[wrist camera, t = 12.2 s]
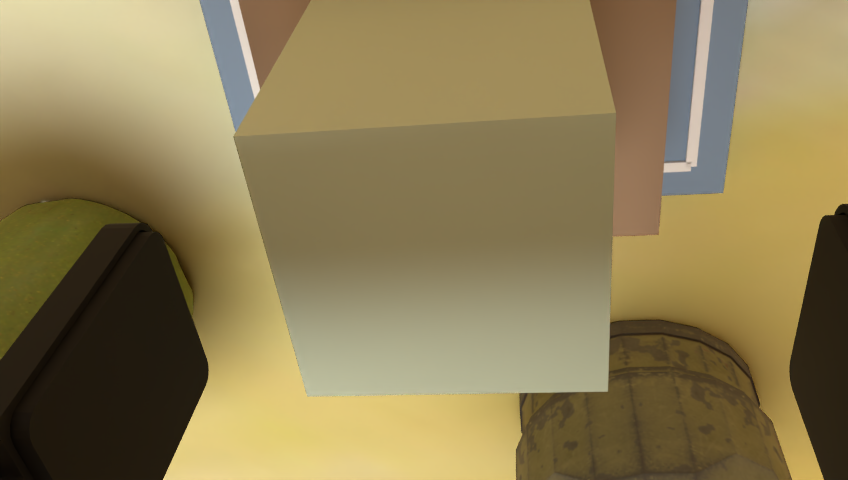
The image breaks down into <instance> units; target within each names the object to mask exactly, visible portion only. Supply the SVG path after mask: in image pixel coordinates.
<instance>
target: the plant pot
mask: <svg viewBox="0 0 848 480" xmlns="http://www.w3.org/2000/svg"><path fill="white" fill-rule="evenodd" d="M114 223H140V222H139V221H137V220H136V219H134V218H132V217H131V216H129V215H127V214H125V213H123V212H121V211H119V210H116V209H113V208H111V207H108V206H106V205H103V204H99V203H96V202H92V201H87V200H81V199H63V200H57V201H50V202H42V203H36V204H29V205H25V206H23V207H21V208H19V209H18V210H16V211H15V212H13V213H12V214H10V215H9V216H7V217H6V218H4V219H3V220H1V221H0V360H1V359H2V357H3V356H4V355H5V353H6V352H7V351H8V349H9V348H10V347H11V345H12V344H13V343H14V342H15V340H16V339H17V338H18V336H19V335H20V334H21V332H22V331H23V330H24V329H25V327H26V326H27V325H28V323H29V322H30V321H31V319H32V318H33V317H34V315H35V314H36V313H37V312H38V310H39V309H40V308H41V306H42V305H43V304H44V302H45V301H46V300H47V299H48V297H49V296H50V295H51V293H52V292H53V291H54V289H55V288H56V287H57V285H58V284H59V283H60V282H61V280H62V279H63V278H64V276H65V275H66V274H67V272H68V271H69V270H70V269H71V267H72V266H73V265H74V263H75V262H76V261H77V259H78V258H79V257H80V255H81V254H82V253H83V252H84V250H85V249H86V248H87V246H88V245H89V244H90V242H91V241H92V240H93V239H94V237H95V236H96V235H97V233H98V232H99V231H100V229H101V228H102V227H103V226H105V225H106V224H114ZM165 244H166V243H165ZM166 247H167V250H168V253H169V255H170V258H171V261H172V264H173V266H174V269H175V272H176V275H177V278H178V280H179V283H180V286H181V289H182V291H183V294H184V297H185V300H186V303H187V305H188V308H189V311H190V314H191V316H192V315H193V305H194V298H193V291H192V289H191V287H190V286H189V284H188V282H187V280H186V278H185V276H184V274H183V271H182V269H181V267H180V265H179V262H178V260H177V257H176V255H175V253H174V252H173V251H172V250H171V248H170V247H169V246H168V245H167V244H166Z"/></svg>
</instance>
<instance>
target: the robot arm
mask: <svg viewBox="0 0 848 480" xmlns="http://www.w3.org/2000/svg"><path fill="white" fill-rule="evenodd" d="M208 371H209V369H208V362H207V358H206V355H205V353H204V350H203V347H202V344H201V341H200V339H199V336H198V333H197V330H196V328H195V325H194V322H193V319H192V316H191V314H190V311H189V308H188V305H187V303H186V300H185V297H184V294H183V291H182V289H181V286H180V283H179V280H178V278H177V275H176V272H175V269H174V266H173V264H172V261H171V258H170V255H169V253H168V250H167V247H166V244H165V241H164V239H163V237H162V236H161V234H160V233H158V232H153V231H152V229H151V228H150V227H149V226H148V225H147V224H145V223H114V224H106V225H105V226H103V227H102V228H101V229H100V231H99V232H98V233H97V235H96V236H95V237H94V239H93V240H92V241H91V242H90V244H89V245H88V246H87V248H86V249H85V250H84V252H83V253H82V254H81V255H80V257H79V258H78V259H77V261H76V262H75V263H74V265H73V266H72V267H71V269H70V270H69V271H68V272H67V274H66V275H65V276H64V278H63V279H62V280H61V282H60V283H59V284H58V285H57V287H56V288H55V289H54V291H53V292H52V293H51V295H50V296H49V297H48V299H47V300H46V301H45V302H44V304H43V305H42V306H41V308H40V309H39V310H38V312H37V313H36V314H35V315H34V317H33V318H32V319H31V321H30V322H29V323H28V325H27V326H26V327H25V329H24V330H23V331H22V332H21V334H20V335H19V336H18V338H17V339H16V340H15V342H14V343H13V344H12V345H11V347H10V348H9V349H8V351H7V352H6V353H5V355H4V356H3V357H2V359H1V360H0V480H163V478H164V476H165V474H166V472H167V469H168V467H169V465H170V463H171V461H172V458H173V456H174V454H175V452H176V450H177V448H178V445H179V443H180V441H181V439H182V437H183V434H184V432H185V430H186V428H187V426H188V423H189V421H190V419H191V417H192V415H193V412H194V410H195V408H196V406H197V404H198V401H199V399H200V397H201V395H202V393H203V390H204V388H205V386H206V383H207V380H208ZM790 381H791V386H792V390H793V393H794V395H795V398H796V401H797V404H798V407H799V410H800V412H801V415H802V418H803V421H804V424H805V427H806V429H807V432H808V435H809V438H810V441H811V444H812V446H813V449H814V452H815V455H816V458H817V461H818V463H819V466H820V469H821V472H822V475H823V478H824V480H848V204H842V205H840V206H839V207H838V208H837V210H836V212H835V215H825V216H824V217H823V218H822V219H821V222H820V225H819V229H818V234H817V238H816V243H815V248H814V252H813V257H812V262H811V266H810V271H809V276H808V280H807V285H806V290H805V294H804V299H803V304H802V308H801V313H800V318H799V322H798V327H797V332H796V336H795V341H794V346H793V350H792V355H791V360H790Z"/></svg>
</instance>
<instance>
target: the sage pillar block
mask: <svg viewBox="0 0 848 480" xmlns="http://www.w3.org/2000/svg"><path fill="white" fill-rule="evenodd" d="M615 134H616V110H615V106H614V102H613V98H612V93H611V89H610V85H609V81H608V76H607V72H606V68H605V64H604V60H603V55H602V51H601V47H600V43H599V38H598V34H597V30H596V26H595V22H594V17H593V13H592V9H591V5H590V0H311V1H310V3H309V5H308V6H307V8H306V10H305V12H304V13H303V15H302V17H301V19H300V21H299V22H298V24H297V26H296V28H295V29H294V31H293V33H292V35H291V36H290V38H289V40H288V42H287V43H286V45H285V47H284V49H283V50H282V52H281V54H280V56H279V57H278V59H277V61H276V63H275V64H274V66H273V68H272V70H271V71H270V73H269V75H268V77H267V79H266V80H265V82H264V84H263V86H262V87H261V89H260V91H259V93H258V94H257V96H256V98H255V100H254V101H253V103H252V105H251V107H250V108H249V110H248V112H247V114H246V115H245V117H244V119H243V121H242V122H241V124H240V126H239V128H238V129H237V131H236V133H235V135H234V136H233V137H234V140H235V144H236V147H237V151H238V154H239V158H240V161H241V165H242V168H243V172H244V175H245V179H246V182H247V186H248V190H249V193H250V197H251V200H252V204H253V207H254V211H255V214H256V218H257V221H258V225H259V228H260V232H261V235H262V239H263V242H264V246H265V249H266V253H267V256H268V260H269V263H270V267H271V271H272V274H273V278H274V281H275V285H276V288H277V292H278V295H279V299H280V302H281V306H282V309H283V313H284V316H285V320H286V323H287V327H288V330H289V334H290V337H291V341H292V344H293V348H294V351H295V355H296V359H297V362H298V366H299V369H300V373H301V376H302V380H303V383H304V387H305V390H306V394H307V396H366V395H428V394H490V393H552V392H608V373H609V339H610V305H611V271H612V236H613V202H614V168H615Z"/></svg>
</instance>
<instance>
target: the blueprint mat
mask: <svg viewBox="0 0 848 480" xmlns="http://www.w3.org/2000/svg"><path fill="white" fill-rule="evenodd" d="M200 4H201V8H202V11H203V15H204V19H205V22H206V26H207V29H208V33H209V37H210V40H211V44H212V48H213V51H214V55H215V59H216V62H217V66H218V69H219V73H220V77H221V80H222V84H223V88H224V91H225V95H226V99H227V102H228V106H229V109H230V113H231V117H232V120H233V124H234V128H235V131H237V129H238V128H239V126H240V124H241V122H242V121H243V119H244V117H245V115H246V114H247V112H248V110H249V108H250V107H251V105H252V103H253V101H254V100H255V98H256V96H257V94H258V93H259V91H260V87H259V83H258V79H257V75H256V70H255V66H254V62H253V58H252V54H251V50H250V46H249V42H248V38H247V34H246V30H245V26H244V22H243V18H242V14H241V10H240V6H239V2H238V0H200ZM747 6H748V0H677V3H676V15H675V28H674V41H673V54H672V67H671V80H670V93H669V106H668V119H667V132H666V145H665V158H664V171H663V184H662V196H665V195H688V194H711V193H723V190H724V183H725V175H726V167H727V159H728V152H729V144H730V136H731V129H732V121H733V113H734V106H735V98H736V90H737V82H738V75H739V67H740V59H741V52H742V44H743V36H744V29H745V21H746V13H747Z"/></svg>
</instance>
